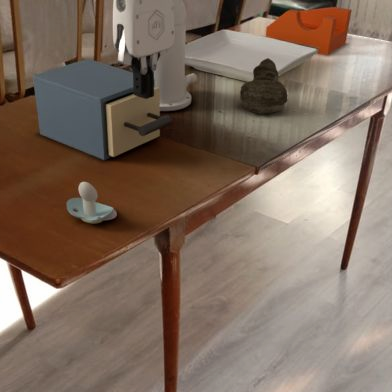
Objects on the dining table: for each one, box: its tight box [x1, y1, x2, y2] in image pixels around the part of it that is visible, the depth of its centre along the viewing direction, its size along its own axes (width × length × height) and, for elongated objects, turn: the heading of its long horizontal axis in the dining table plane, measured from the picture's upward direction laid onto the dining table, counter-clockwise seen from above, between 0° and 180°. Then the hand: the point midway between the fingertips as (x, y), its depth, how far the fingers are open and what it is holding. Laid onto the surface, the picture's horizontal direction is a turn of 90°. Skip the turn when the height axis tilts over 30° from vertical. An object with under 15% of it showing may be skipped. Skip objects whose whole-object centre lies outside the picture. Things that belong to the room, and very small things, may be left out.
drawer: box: [104, 86, 172, 158], centre depth 112 cm, size 20×12×9 cm, turn 52°
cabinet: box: [32, 58, 155, 161], centre depth 114 cm, size 17×14×11 cm
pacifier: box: [66, 181, 118, 224], centre depth 93 cm, size 7×6×6 cm
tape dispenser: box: [265, 6, 352, 56], centre depth 166 cm, size 18×13×8 cm
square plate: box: [185, 29, 318, 82], centre depth 151 cm, size 27×27×4 cm
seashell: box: [239, 58, 288, 115], centre depth 128 cm, size 11×12×10 cm
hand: (143, 95), depth 105 cm, fingers closed
